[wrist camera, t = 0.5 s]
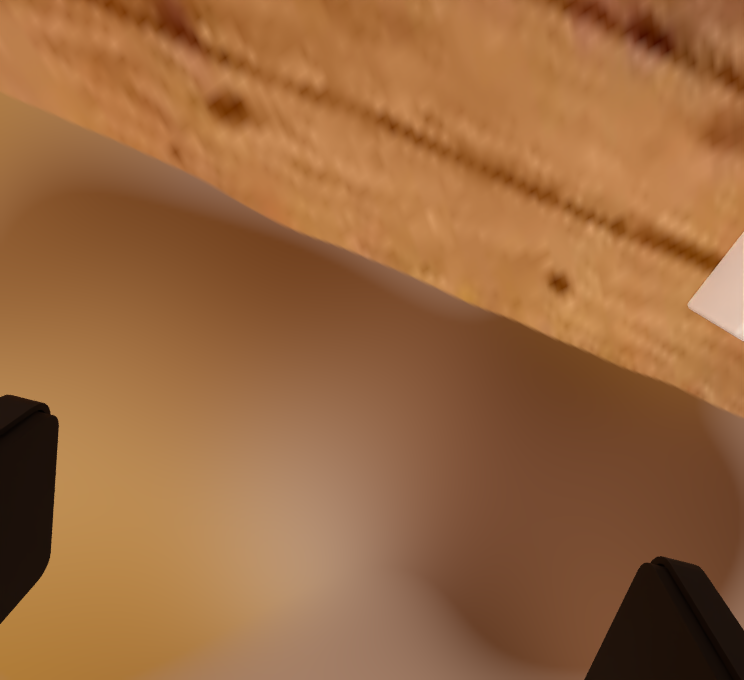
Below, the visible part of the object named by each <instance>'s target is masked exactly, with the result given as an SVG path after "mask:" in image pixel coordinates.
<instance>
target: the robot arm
mask: <svg viewBox="0 0 744 680" xmlns="http://www.w3.org/2000/svg"><path fill="white" fill-rule="evenodd" d="M58 424H59V423H58V419H57V417H56V416H54V415H50V410H49V407H48V405H46V404H45V403H41V402H37V401H33V400H29V399H25V398H21V397H17V396H13V395H5V396H2V397H0V624H1V623H2V621H3V620H4V619H5V618H6V617H7V616H8V615H9V613H10V612H11V611H12V610H13V609H14V608H15V607H16V605H17V604H18V603H19V602H20V601H21V600H22V598H23V597H24V596H25V595H26V594H27V593H28V592H29V590H30V589H31V588H32V587H33V586H34V585H35V583H36V582H37V581H38V580H39V579H40V577H41V576H42V574H43V573H44V571H45V569H46V567H47V565H48V562H49V558H50V553H51V538H52V523H53V507H54V492H55V476H56V460H57V443H58V428H59V425H58ZM584 680H744V630H743V628H742V627H741V626H740V624H739V623H738V621H737V620H736V618H735V617H734V615H733V614H732V612H731V611H730V609H729V608H728V606H727V605H726V603H725V602H724V601H723V599H722V597H721V596H720V595H719V593H718V592H717V590H716V589H715V587H714V586H713V584H712V583H711V581H710V580H709V578H708V577H707V575H706V574H705V573H704V571H703V570H702V569H701V568H700V567H699V566H697V565H694V564H690V563H686V562H682V561H678V560H674V559H670V558H666V557H662V556H660V557H656V558H655V559H653V560H652V561H651V563H644V564H642V565H641V566H640V568H639V569H638V572H637V573H636V575H635V577H634V579H633V582H632V583H631V586H630V587H629V590H628V592H627V594H626V596H625V598H624V600H623V602H622V604H621V606H620V608H619V610H618V612H617V614H616V616H615V618H614V620H613V622H612V624H611V627H610V628H609V630H608V633H607V635H606V637H605V639H604V641H603V643H602V645H601V647H600V649H599V651H598V653H597V655H596V657H595V659H594V661H593V663H592V665H591V667H590V669H589V672H588V673H587V676H586V678H585V679H584Z"/></svg>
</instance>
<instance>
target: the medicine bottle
mask: <svg viewBox="0 0 744 680" xmlns="http://www.w3.org/2000/svg"><path fill="white" fill-rule="evenodd" d="M688 307H689V309H691V310H692V311H694V312H696V313H697V314H699V315H701V316H702V317H704V318H705V319H707V320H709V321H710V322H712V323H714V324H715V325H717V326H719V327H720V328H722V329H724V330H725V331H727V332H728V333H730V334H732V335H733V336H735V337H737V338H738V339H740V340H742V341H744V232H743V233H742V234H741V236H740V237H739V238H738V240H737V241H736V242H735V243H734V245H733V246H732V247H731V249H730V250H729V251H728V252H727V254H726V255H725V256H724V257H723V259H722V260H721V261H720V263H719V264H718V265H717V266H716V268H715V269H714V270H713V272H712V273H711V274H710V275H709V277H708V278H707V279H706V281H705V282H704V283H703V284H702V286H701V287H700V288H699V289H698V291H697V292H696V293H695V295H694V296H693V297H692V298H691V300H690V301H689V302H688Z"/></svg>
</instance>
